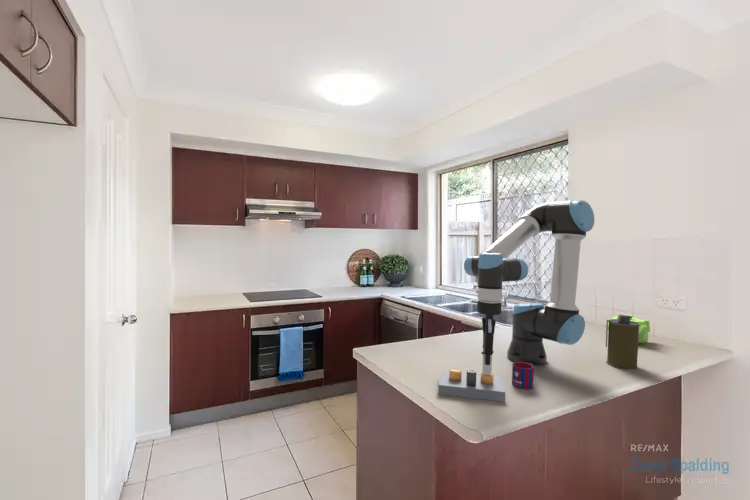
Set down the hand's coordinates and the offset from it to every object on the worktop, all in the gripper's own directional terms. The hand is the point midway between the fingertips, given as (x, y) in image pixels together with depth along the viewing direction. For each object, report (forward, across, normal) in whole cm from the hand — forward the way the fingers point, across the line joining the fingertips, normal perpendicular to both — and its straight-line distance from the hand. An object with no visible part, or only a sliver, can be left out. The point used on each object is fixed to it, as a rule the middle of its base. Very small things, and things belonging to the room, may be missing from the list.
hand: (486, 373), depth 119 cm
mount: (+6, 0, -5) cm, 8 cm away
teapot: (+6, -80, +74) cm, 109 cm away
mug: (+6, -10, +14) cm, 18 cm away
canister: (+6, -41, +55) cm, 69 cm away
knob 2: (+6, 0, 0) cm, 6 cm away
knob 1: (+6, 0, -10) cm, 11 cm away
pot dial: (+3, +3, -5) cm, 7 cm away
